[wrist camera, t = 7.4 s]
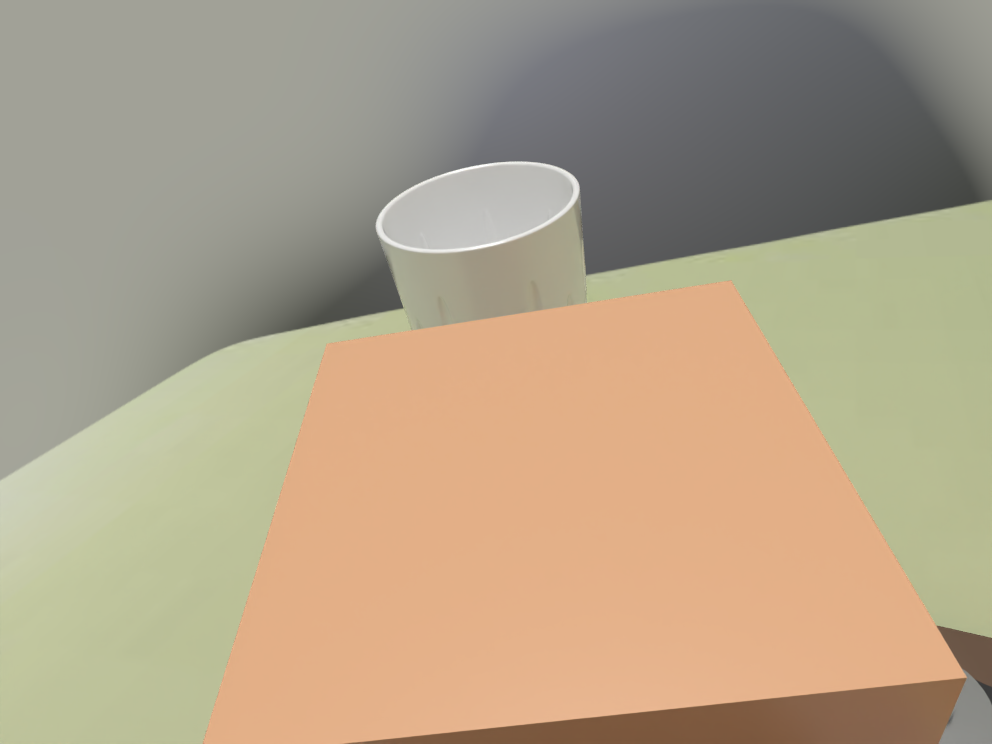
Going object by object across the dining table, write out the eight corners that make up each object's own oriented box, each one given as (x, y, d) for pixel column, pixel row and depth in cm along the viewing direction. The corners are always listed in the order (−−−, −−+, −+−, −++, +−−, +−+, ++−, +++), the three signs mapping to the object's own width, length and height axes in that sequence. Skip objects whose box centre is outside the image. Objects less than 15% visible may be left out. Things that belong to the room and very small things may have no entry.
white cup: (594, 463, 28) (565, 243, 23) (414, 460, 30) (344, 258, 25) (609, 349, 34) (589, 152, 29) (458, 353, 37) (410, 170, 31)
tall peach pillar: (438, 1022, 11) (197, 759, 6) (451, 666, 16) (326, 343, 10) (829, 996, 10) (967, 677, 5) (718, 635, 15) (731, 280, 10)
